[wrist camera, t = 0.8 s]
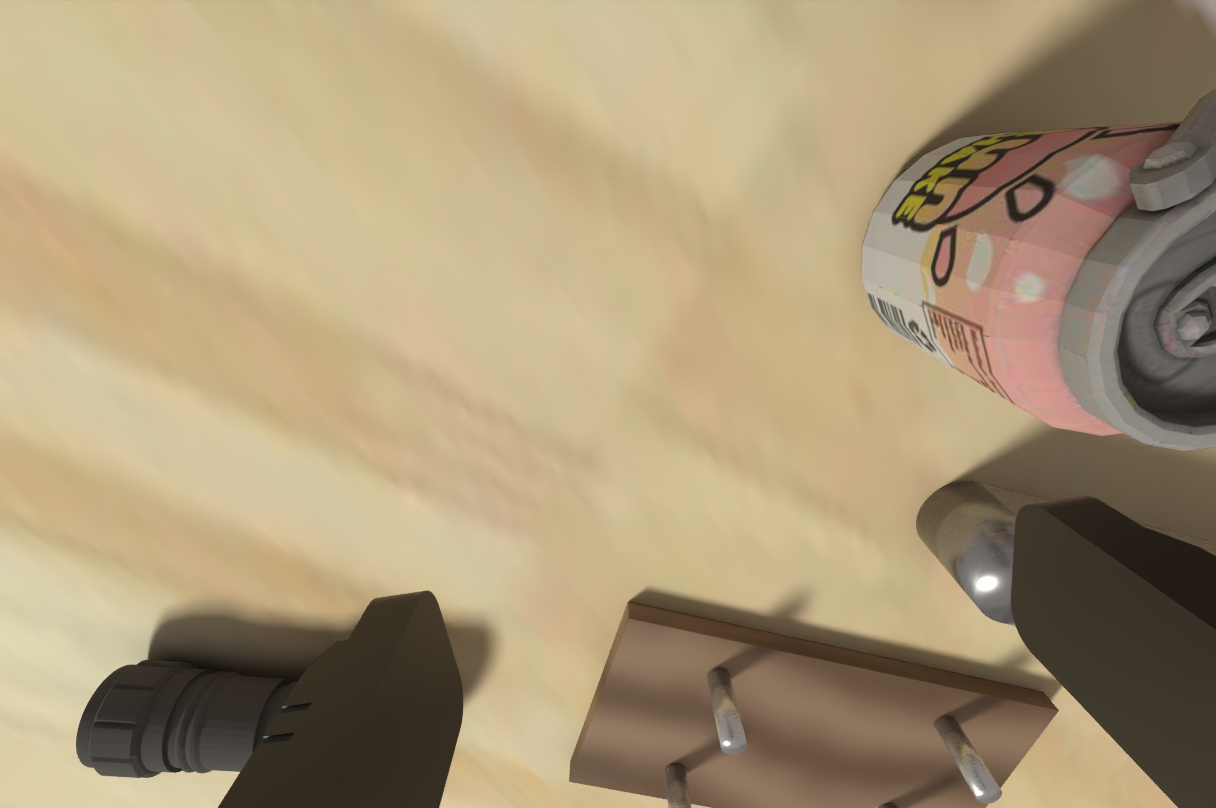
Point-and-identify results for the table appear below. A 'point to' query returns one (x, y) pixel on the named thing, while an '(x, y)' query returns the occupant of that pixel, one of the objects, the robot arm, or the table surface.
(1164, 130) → the beverage can
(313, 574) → the table surface
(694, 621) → the tool rest
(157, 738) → the flashlight
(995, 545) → the grey long metal bar
